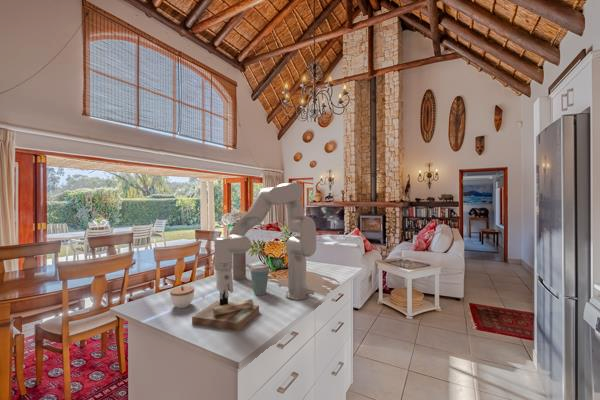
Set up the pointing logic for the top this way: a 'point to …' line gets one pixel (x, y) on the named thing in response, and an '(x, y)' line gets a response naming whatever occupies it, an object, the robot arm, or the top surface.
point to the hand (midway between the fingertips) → (224, 307)
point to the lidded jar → (182, 296)
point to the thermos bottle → (239, 266)
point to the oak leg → (232, 307)
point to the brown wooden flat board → (225, 317)
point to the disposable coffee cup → (259, 278)
